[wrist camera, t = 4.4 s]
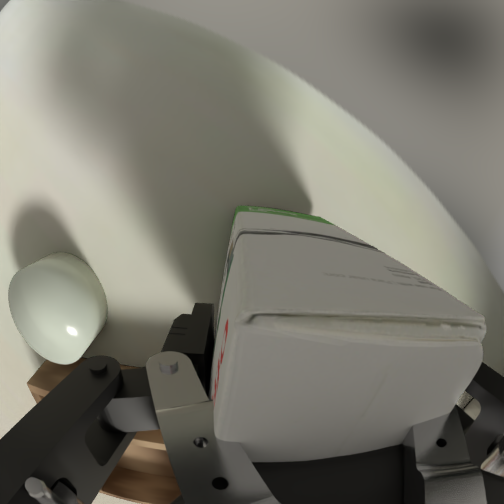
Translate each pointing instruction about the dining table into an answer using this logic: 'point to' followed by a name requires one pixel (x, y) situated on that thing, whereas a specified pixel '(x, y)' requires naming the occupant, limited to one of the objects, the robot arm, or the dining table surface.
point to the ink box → (330, 342)
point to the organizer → (134, 458)
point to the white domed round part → (58, 306)
